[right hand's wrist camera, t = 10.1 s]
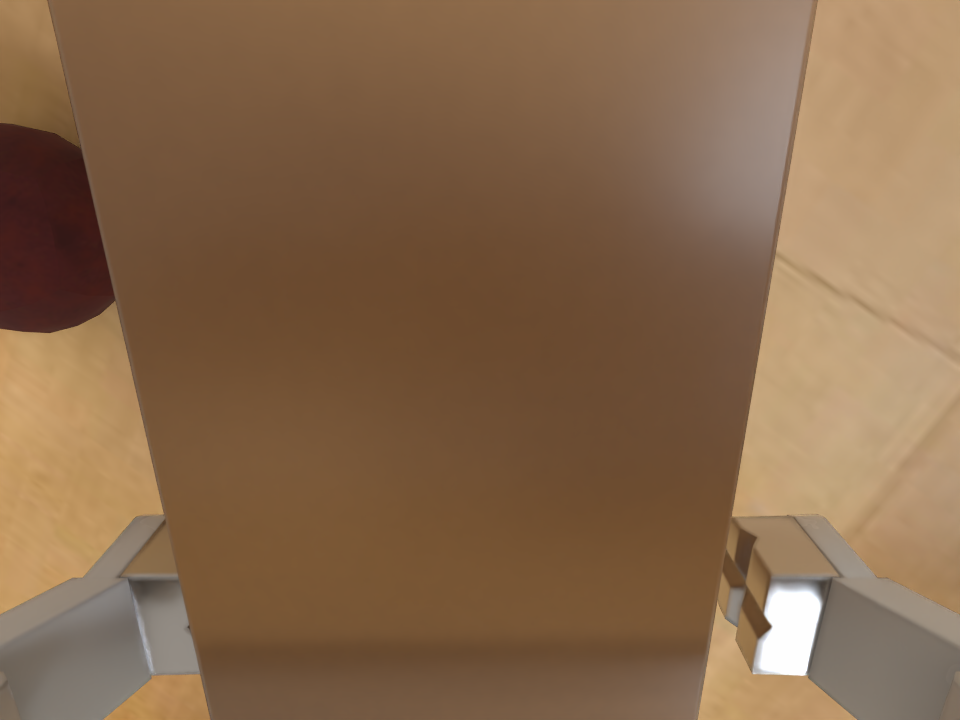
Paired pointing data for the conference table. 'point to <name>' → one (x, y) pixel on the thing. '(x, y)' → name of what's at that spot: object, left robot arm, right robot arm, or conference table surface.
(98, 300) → the potato
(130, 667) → the right robot arm
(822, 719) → the conference table surface
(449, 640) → the box
